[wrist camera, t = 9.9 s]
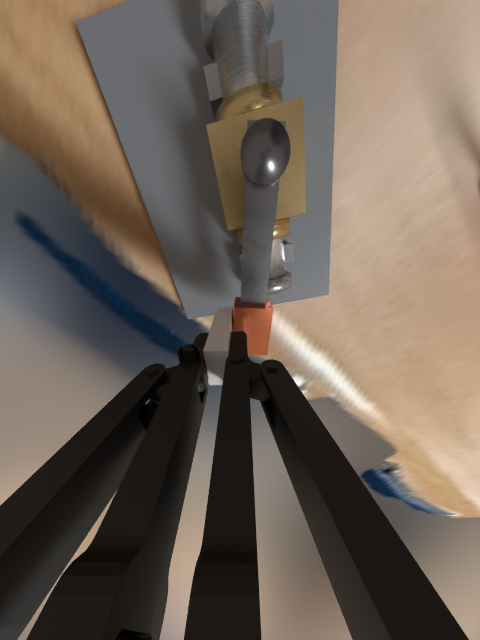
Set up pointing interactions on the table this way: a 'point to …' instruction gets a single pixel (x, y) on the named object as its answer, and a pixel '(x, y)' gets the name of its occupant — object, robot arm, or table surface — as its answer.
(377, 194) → the table surface
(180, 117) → the mounting board
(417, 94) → the table surface
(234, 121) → the valve pipe
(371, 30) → the table surface
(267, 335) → the valve lever
